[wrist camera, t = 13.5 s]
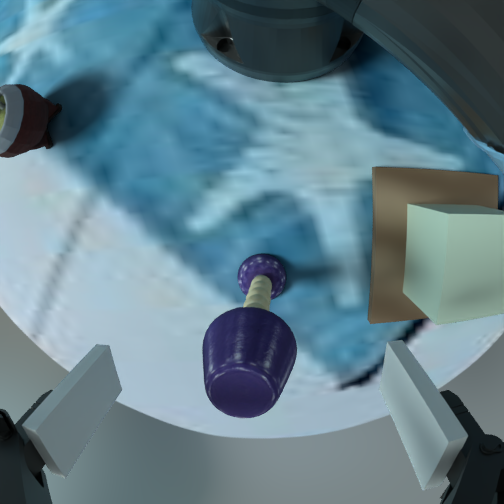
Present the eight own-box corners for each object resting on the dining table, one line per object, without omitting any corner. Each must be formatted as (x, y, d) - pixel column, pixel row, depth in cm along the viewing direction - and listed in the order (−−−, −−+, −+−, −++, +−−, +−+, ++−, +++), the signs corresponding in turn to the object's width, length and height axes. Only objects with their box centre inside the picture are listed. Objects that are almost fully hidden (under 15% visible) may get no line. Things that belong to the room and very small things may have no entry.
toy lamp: (223, 282, 28) (169, 407, 12) (248, 237, 27) (215, 327, 11) (271, 307, 28) (267, 448, 12) (297, 264, 27) (329, 381, 11)
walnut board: (372, 167, 25) (375, 166, 24) (492, 175, 24) (498, 175, 23) (367, 319, 28) (370, 323, 27) (480, 305, 27) (485, 309, 26)
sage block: (407, 203, 24) (448, 213, 18) (476, 205, 24) (523, 215, 17) (402, 292, 26) (436, 325, 19) (469, 285, 26) (509, 312, 19)
